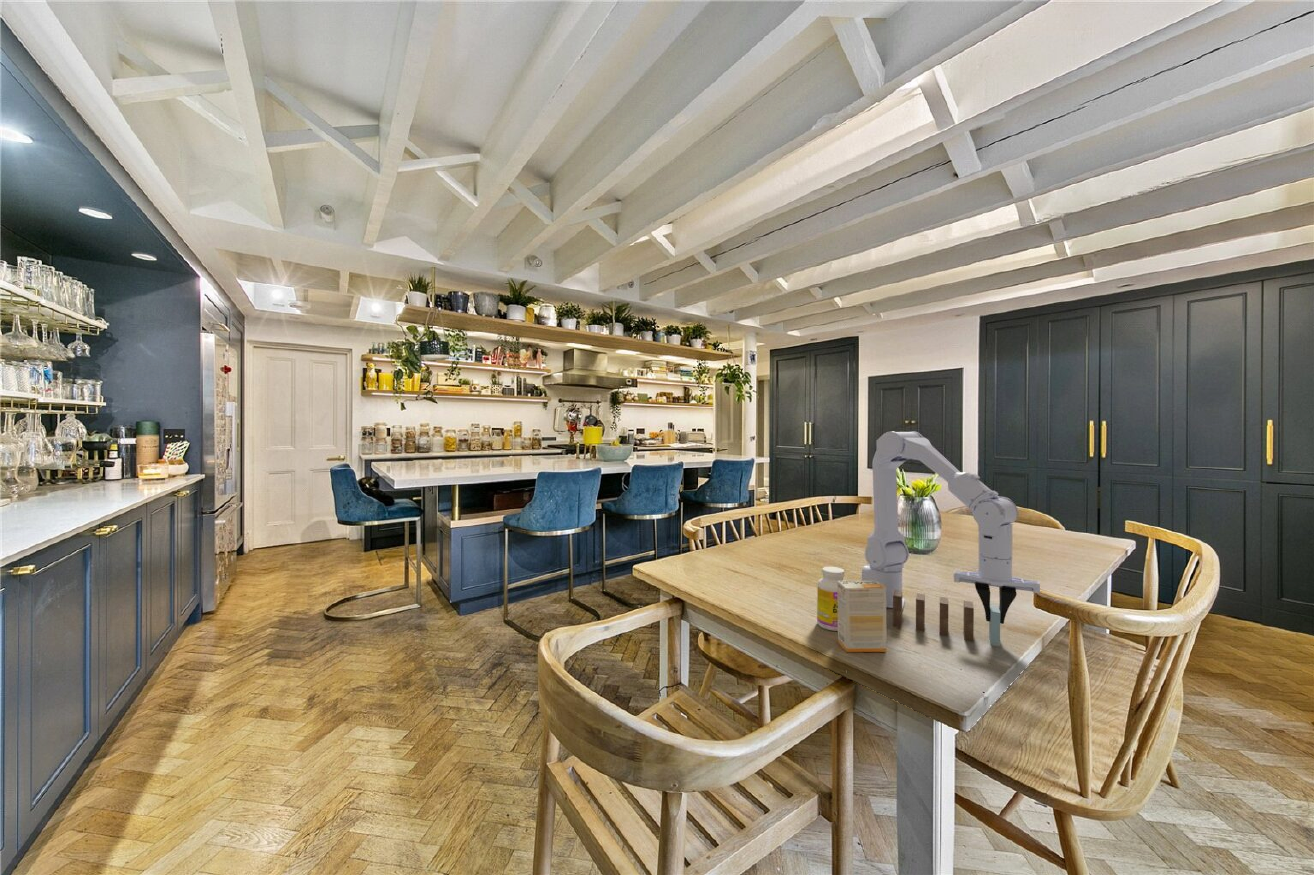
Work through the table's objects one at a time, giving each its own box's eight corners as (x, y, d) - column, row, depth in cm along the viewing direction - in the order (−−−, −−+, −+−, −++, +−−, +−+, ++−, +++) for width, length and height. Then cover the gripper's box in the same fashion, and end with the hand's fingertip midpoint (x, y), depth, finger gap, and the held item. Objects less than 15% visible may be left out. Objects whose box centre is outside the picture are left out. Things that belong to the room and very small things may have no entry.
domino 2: (915, 630, 104) (915, 599, 104) (916, 623, 108) (916, 593, 108) (924, 632, 103) (924, 600, 103) (924, 625, 107) (924, 594, 107)
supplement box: (875, 642, 99) (876, 579, 98) (887, 652, 94) (887, 587, 93) (836, 642, 99) (836, 579, 98) (845, 652, 94) (845, 587, 93)
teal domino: (990, 644, 97) (990, 611, 97) (989, 637, 101) (989, 604, 101) (999, 646, 96) (1000, 612, 96) (998, 638, 100) (998, 606, 100)
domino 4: (964, 639, 99) (964, 606, 99) (963, 632, 103) (963, 600, 103) (973, 641, 99) (973, 608, 99) (972, 633, 102) (972, 601, 102)
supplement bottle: (832, 634, 102) (832, 575, 102) (810, 622, 108) (811, 567, 108) (855, 629, 105) (855, 571, 105) (833, 618, 111) (833, 563, 111)
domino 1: (892, 626, 106) (893, 595, 106) (894, 619, 110) (894, 589, 110) (900, 627, 106) (901, 596, 105) (902, 620, 109) (902, 590, 109)
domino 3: (939, 635, 102) (939, 602, 102) (939, 627, 106) (939, 596, 105) (948, 636, 101) (948, 604, 101) (947, 629, 105) (948, 598, 105)
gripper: (954, 555, 99) (954, 620, 99) (1043, 565, 91) (1042, 635, 91) (953, 548, 105) (953, 609, 105) (1036, 557, 97) (1036, 622, 97)
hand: (994, 620), depth 99 cm, fingers closed on teal domino, 2 cm apart
